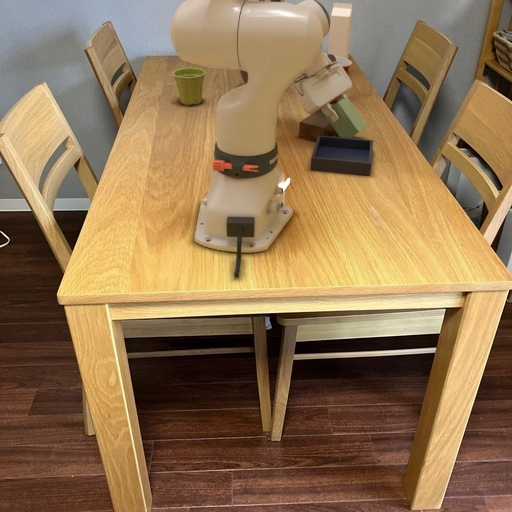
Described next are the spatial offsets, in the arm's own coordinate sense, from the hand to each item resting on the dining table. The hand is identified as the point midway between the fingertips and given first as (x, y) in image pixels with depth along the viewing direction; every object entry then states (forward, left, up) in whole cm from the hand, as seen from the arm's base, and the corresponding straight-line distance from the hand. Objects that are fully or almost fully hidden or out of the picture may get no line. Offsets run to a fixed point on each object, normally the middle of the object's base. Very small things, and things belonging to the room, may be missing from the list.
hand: (343, 115), depth 139 cm
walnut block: (+2, +5, -6) cm, 8 cm away
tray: (-14, -1, -6) cm, 15 cm away
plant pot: (+17, +46, -6) cm, 49 cm away
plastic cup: (+28, +6, -6) cm, 29 cm away
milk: (+55, +6, -6) cm, 55 cm away
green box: (0, -1, -6) cm, 6 cm away
